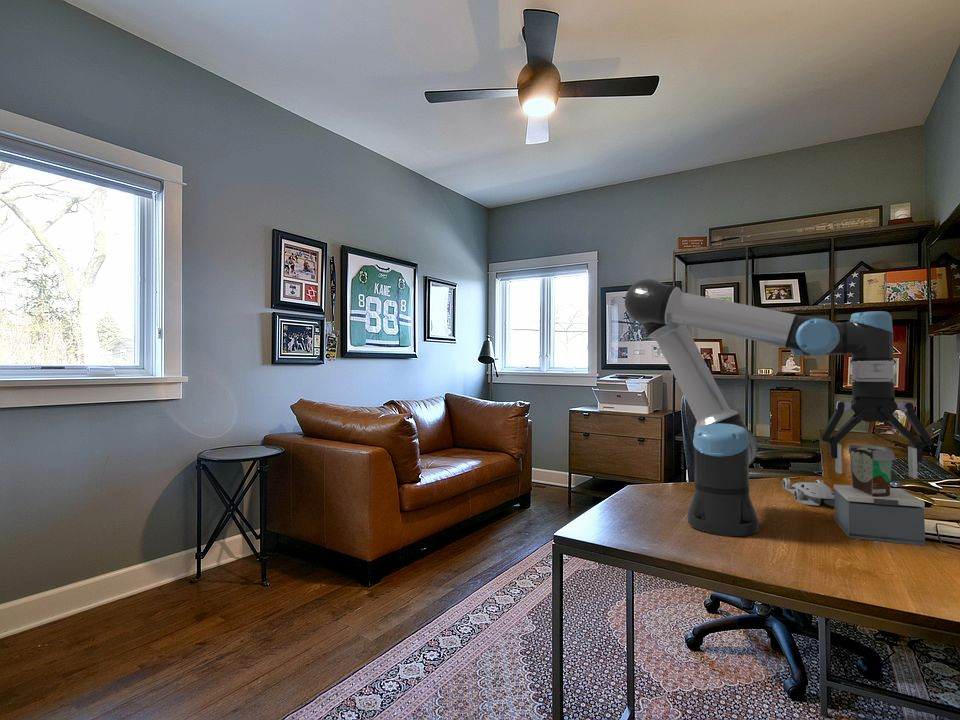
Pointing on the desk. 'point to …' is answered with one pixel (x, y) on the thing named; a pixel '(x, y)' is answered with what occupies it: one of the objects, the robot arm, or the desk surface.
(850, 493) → the box lid
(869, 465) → the food container
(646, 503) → the desk surface
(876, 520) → the storage box
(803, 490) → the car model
